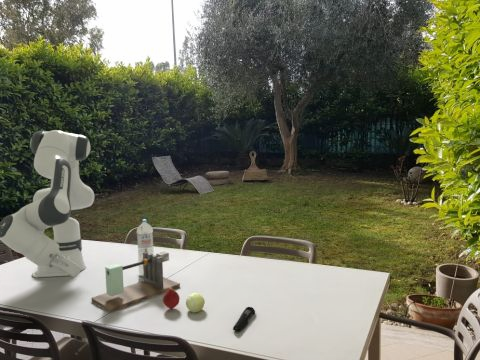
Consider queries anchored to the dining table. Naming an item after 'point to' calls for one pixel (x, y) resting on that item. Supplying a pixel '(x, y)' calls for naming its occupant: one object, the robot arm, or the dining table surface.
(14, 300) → the dining table surface
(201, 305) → the tennis ball
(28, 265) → the dining table surface
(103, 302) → the cord rig
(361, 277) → the dining table surface
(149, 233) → the water bottle
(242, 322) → the electric trimmer
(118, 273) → the sleeve
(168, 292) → the onion
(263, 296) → the dining table surface
